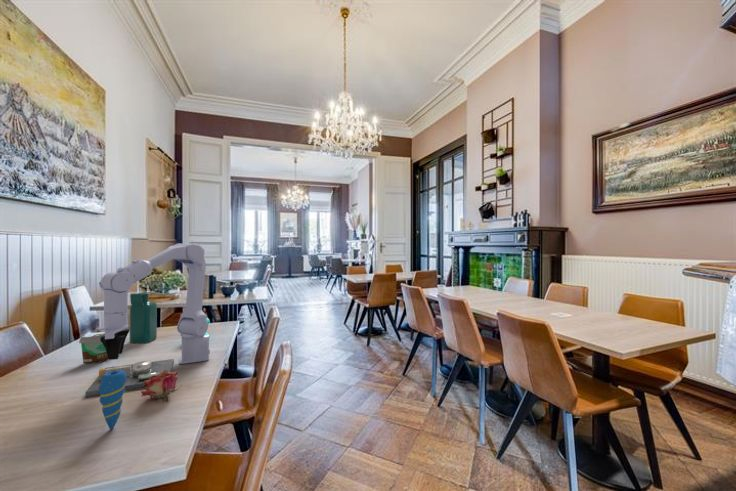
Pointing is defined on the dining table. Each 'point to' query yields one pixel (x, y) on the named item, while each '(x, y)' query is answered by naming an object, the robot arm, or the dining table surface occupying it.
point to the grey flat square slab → (134, 377)
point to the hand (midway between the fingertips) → (115, 356)
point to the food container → (93, 349)
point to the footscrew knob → (138, 369)
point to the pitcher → (142, 318)
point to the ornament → (112, 395)
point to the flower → (160, 385)
